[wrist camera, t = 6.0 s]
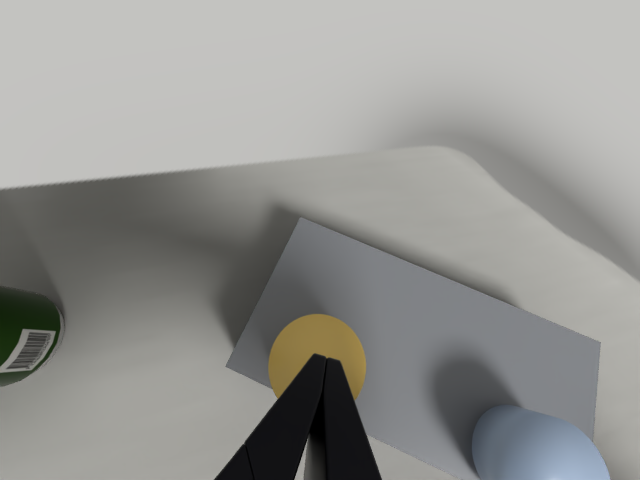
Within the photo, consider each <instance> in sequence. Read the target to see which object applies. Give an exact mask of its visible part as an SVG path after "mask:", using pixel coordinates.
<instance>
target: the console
mask: <svg viewBox="0 0 640 480" xmlns="http://www.w3.org/2000/svg"><path fill="white" fill-rule="evenodd" d="M311 314H324V315H329V316H332V317H335V318H337V319H339V320H341V321H342V322H344V323H345V324H347V325H348V326H349V327H350V328H351V329H352V330H353V331H354V333H355V334H356V335H357V337H358V338H359V340H360V342H361V344H362V347H363V350H364V354H365V359H366V374H365V380H364V384H363V387H362V389H361V391H360V393H359V395H358V397H357V398H356V400H355V403H356V406H357V409H358V412H359V415H360V418H361V421H362V423H363V426H364V429H365V432H366V434H367V435H369V436H371V437H373V438H375V439H377V440H380V441H382V442H384V443H386V444H388V445H390V446H392V447H394V448H396V449H398V450H400V451H402V452H405V453H407V454H409V455H411V456H413V457H415V458H417V459H419V460H421V461H423V462H425V463H427V464H430V465H432V466H434V467H436V468H438V469H440V470H442V471H444V472H446V473H448V474H450V475H452V476H455V477H457V478H459V479H461V480H481V478H480V476H479V474H478V472H477V470H476V467H475V464H474V460H473V455H472V437H473V432H474V429H475V426H476V424H477V422H478V420H479V419H480V417H481V416H482V415H483V414H484V413H485V412H486V411H488V410H489V409H491V408H493V407H495V406H499V405H513V406H517V407H521V408H524V409H528V410H532V411H535V412H539V413H542V414H546V415H550V416H553V417H557V418H560V419H563V420H565V421H567V422H569V423H571V424H573V425H574V426H576V427H577V428H579V429H580V430H581V431H582V432H583V433H584V434H585V435H586V436H587V437H588V438H589V439H590V440H591V441H592V442H593V433H594V421H595V408H596V395H597V382H598V370H599V357H600V344H601V342H599V341H596V340H594V339H591V338H589V337H587V336H584V335H582V334H579V333H577V332H575V331H572V330H570V329H567V328H565V327H563V326H560V325H558V324H556V323H553V322H551V321H548V320H546V319H544V318H541V317H539V316H536V315H534V314H532V313H529V312H527V311H524V310H522V309H520V308H517V307H515V306H512V305H510V304H508V303H505V302H503V301H501V300H498V299H496V298H493V297H491V296H489V295H486V294H484V293H481V292H479V291H477V290H474V289H472V288H469V287H467V286H465V285H462V284H460V283H457V282H455V281H453V280H450V279H448V278H446V277H443V276H441V275H438V274H436V273H434V272H431V271H429V270H426V269H424V268H422V267H419V266H417V265H414V264H412V263H410V262H407V261H405V260H403V259H400V258H398V257H395V256H393V255H391V254H388V253H386V252H383V251H381V250H379V249H376V248H374V247H371V246H369V245H367V244H364V243H362V242H359V241H357V240H355V239H352V238H350V237H348V236H345V235H343V234H340V233H338V232H336V231H333V230H331V229H328V228H326V227H324V226H321V225H319V224H316V223H314V222H312V221H309V220H307V219H305V218H302V217H300V219H299V221H298V223H297V225H296V227H295V229H294V231H293V233H292V235H291V237H290V239H289V241H288V243H287V245H286V247H285V249H284V251H283V253H282V255H281V257H280V259H279V261H278V263H277V265H276V267H275V269H274V271H273V273H272V275H271V277H270V279H269V281H268V283H267V285H266V287H265V289H264V291H263V293H262V295H261V297H260V299H259V301H258V303H257V305H256V307H255V308H254V310H253V312H252V314H251V316H250V318H249V320H248V322H247V324H246V326H245V328H244V330H243V332H242V334H241V336H240V338H239V340H238V342H237V344H236V346H235V348H234V350H233V352H232V354H231V356H230V358H229V360H228V362H227V364H226V366H225V367H227V368H230V369H232V370H234V371H236V372H238V373H240V374H242V375H244V376H246V377H248V378H250V379H252V380H255V381H257V382H259V383H261V384H263V385H265V386H267V387H269V388H271V389H272V386H271V383H270V379H269V372H268V363H269V356H270V352H271V349H272V346H273V344H274V342H275V340H276V338H277V337H278V335H279V334H280V332H281V331H282V330H283V329H284V328H285V327H286V326H287V325H288V324H290V323H291V322H293V321H294V320H296V319H298V318H300V317H303V316H306V315H311Z"/></svg>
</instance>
